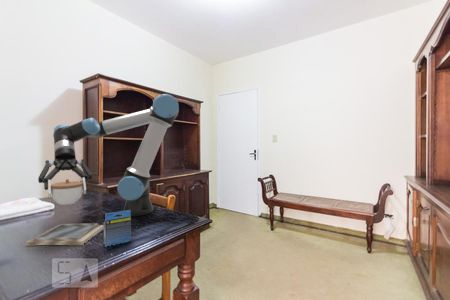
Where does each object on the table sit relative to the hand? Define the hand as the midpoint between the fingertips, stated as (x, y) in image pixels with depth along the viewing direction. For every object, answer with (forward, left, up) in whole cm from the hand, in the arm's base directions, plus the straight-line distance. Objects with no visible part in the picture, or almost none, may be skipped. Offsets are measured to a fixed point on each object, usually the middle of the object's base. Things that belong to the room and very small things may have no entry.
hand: (68, 193), depth 89 cm
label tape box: (-21, +5, -18) cm, 28 cm away
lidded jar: (+2, -2, -4) cm, 5 cm away
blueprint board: (+1, -2, -18) cm, 18 cm away
